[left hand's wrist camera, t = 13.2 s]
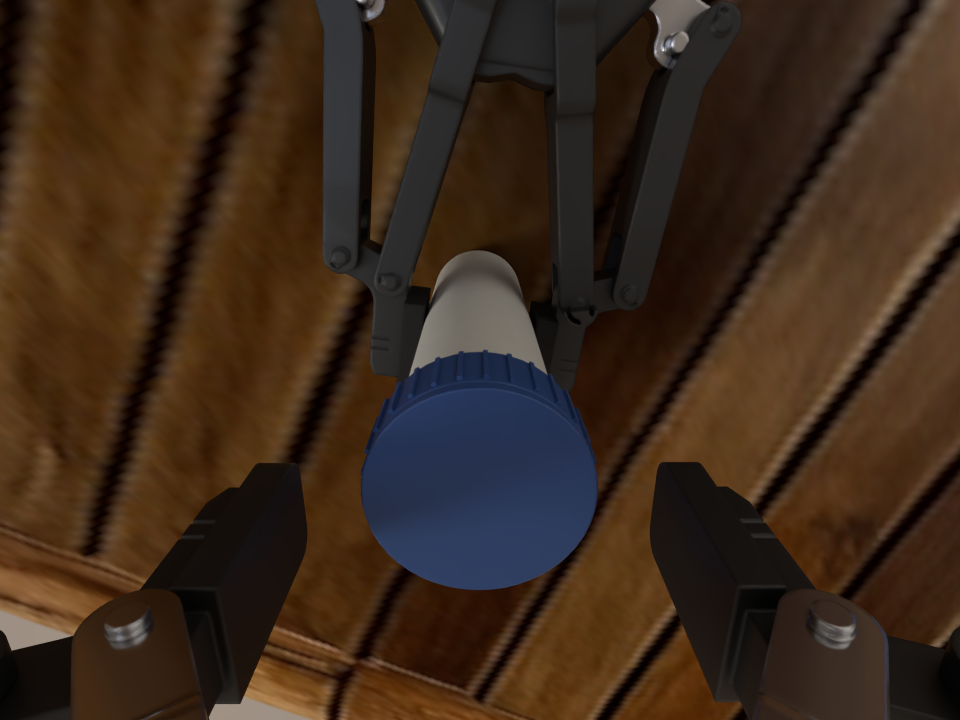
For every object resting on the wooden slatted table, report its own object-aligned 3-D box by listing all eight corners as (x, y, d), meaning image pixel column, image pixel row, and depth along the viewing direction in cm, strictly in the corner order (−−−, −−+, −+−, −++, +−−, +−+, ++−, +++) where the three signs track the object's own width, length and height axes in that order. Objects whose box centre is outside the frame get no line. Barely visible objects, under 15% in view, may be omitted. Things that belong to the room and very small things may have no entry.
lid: (391, 541, 14) (379, 603, 12) (356, 359, 13) (334, 398, 11) (587, 523, 14) (605, 583, 12) (579, 336, 12) (598, 371, 11)
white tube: (441, 336, 28) (398, 571, 13) (430, 254, 27) (365, 406, 11) (522, 327, 28) (581, 554, 13) (515, 245, 27) (571, 386, 11)
